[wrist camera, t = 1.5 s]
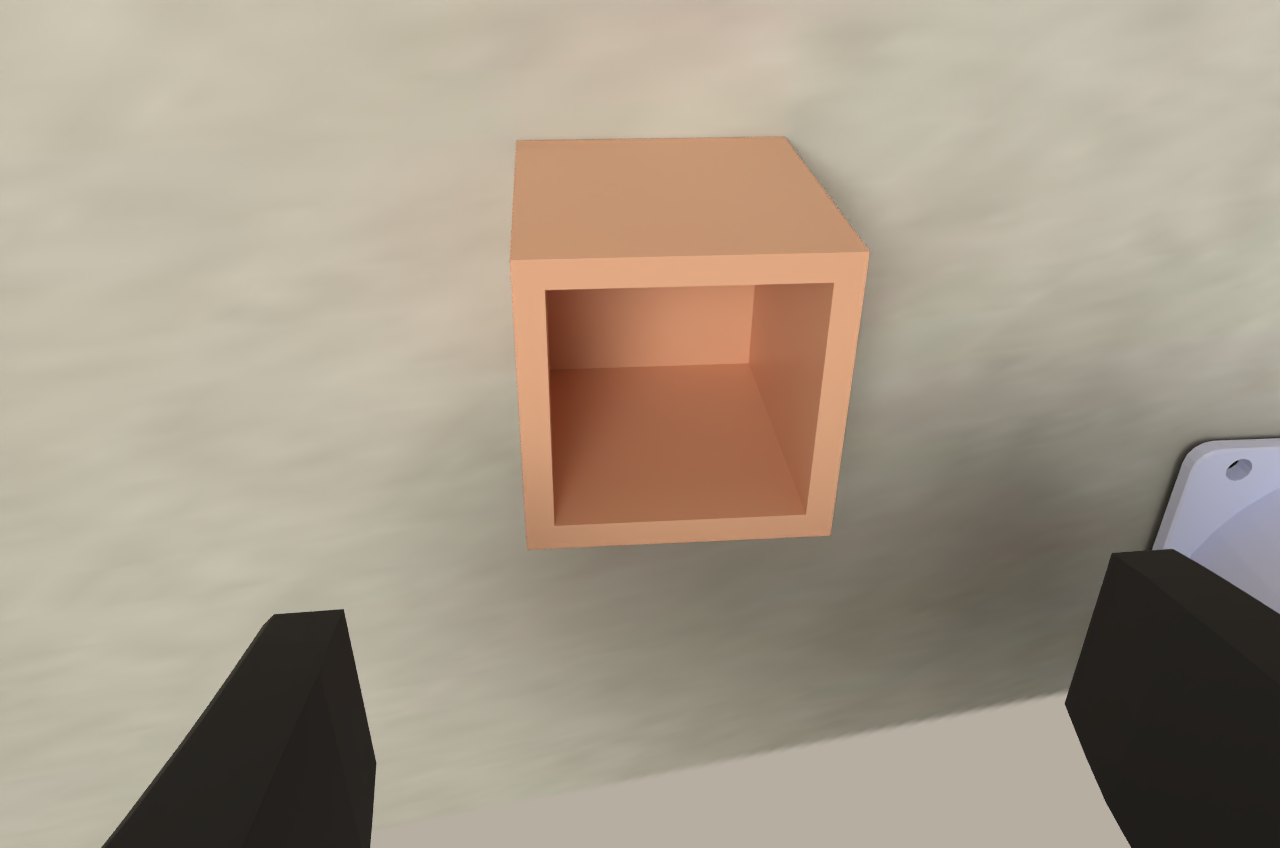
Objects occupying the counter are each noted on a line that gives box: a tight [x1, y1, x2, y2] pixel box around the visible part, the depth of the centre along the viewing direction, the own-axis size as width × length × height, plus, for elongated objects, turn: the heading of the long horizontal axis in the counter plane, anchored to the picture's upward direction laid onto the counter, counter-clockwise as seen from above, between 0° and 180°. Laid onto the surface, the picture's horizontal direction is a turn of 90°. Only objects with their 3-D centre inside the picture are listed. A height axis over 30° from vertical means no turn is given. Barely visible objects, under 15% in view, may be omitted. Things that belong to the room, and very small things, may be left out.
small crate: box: [510, 137, 870, 550], centre depth 16 cm, size 4×4×5 cm
